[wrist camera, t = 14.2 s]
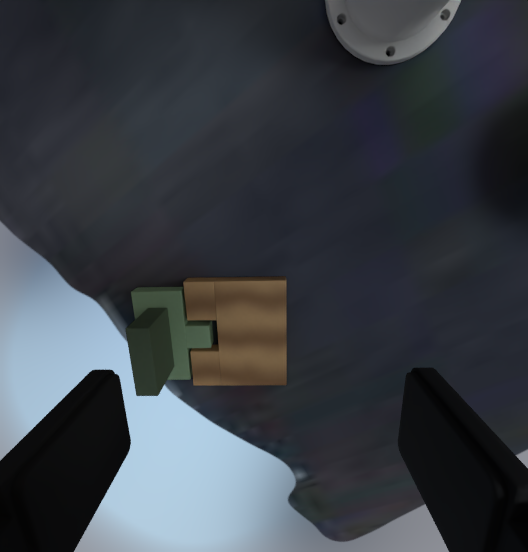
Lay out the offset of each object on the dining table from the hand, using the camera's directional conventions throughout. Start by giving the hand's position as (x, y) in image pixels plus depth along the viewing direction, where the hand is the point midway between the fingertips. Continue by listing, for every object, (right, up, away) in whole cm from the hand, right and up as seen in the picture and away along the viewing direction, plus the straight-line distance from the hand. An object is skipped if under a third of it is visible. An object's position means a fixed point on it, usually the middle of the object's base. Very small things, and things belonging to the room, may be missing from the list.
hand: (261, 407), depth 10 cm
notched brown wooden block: (-3, -3, +28) cm, 28 cm away
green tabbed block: (-11, -3, +28) cm, 31 cm away
